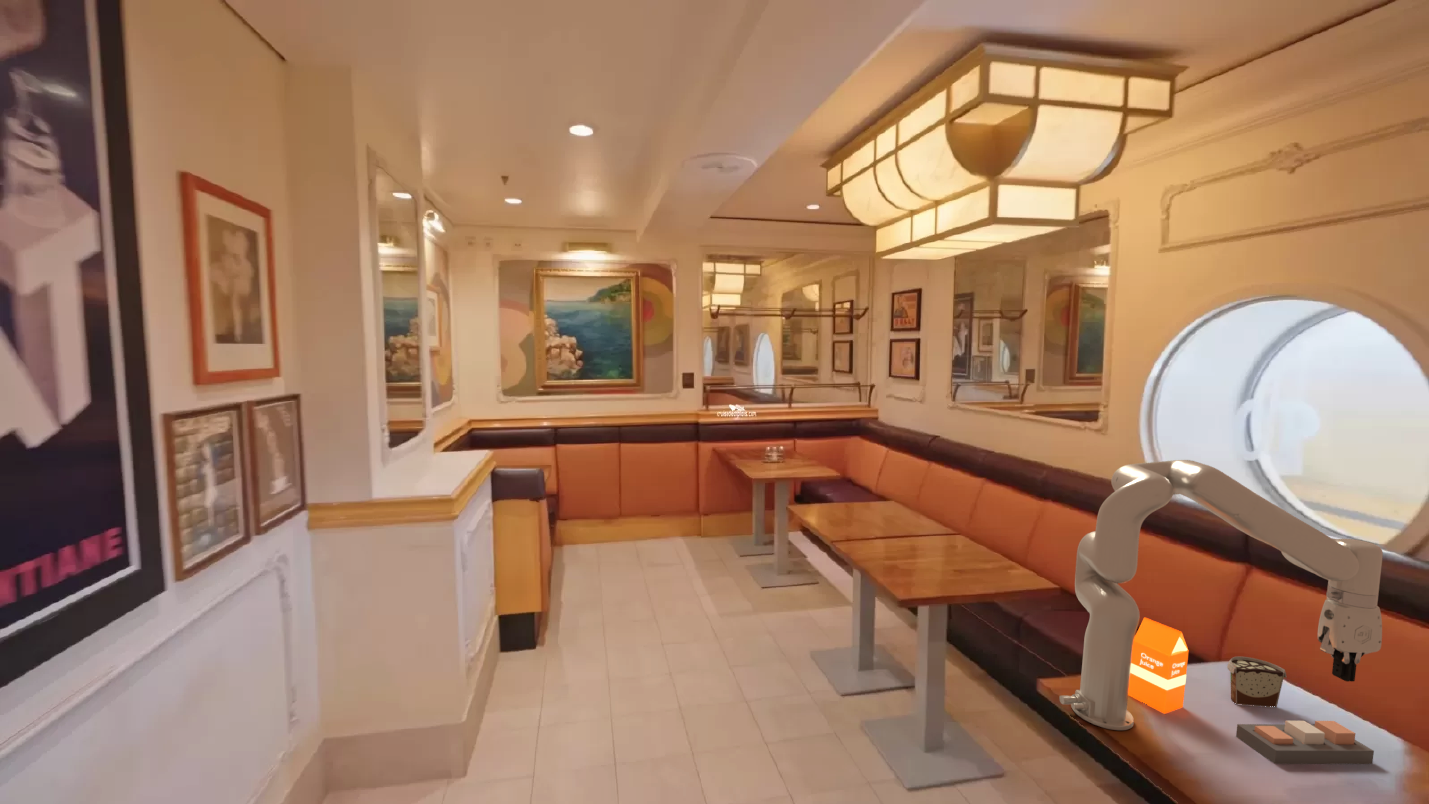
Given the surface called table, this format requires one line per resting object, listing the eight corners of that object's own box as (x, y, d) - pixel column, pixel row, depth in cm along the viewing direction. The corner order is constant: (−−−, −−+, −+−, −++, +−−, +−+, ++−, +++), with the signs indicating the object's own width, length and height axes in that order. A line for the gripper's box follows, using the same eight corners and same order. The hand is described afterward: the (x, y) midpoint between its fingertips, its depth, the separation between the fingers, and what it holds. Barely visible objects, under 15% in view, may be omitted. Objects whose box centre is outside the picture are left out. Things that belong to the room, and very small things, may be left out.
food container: (1262, 694, 155) (1267, 657, 154) (1283, 708, 149) (1287, 670, 148) (1211, 690, 156) (1215, 653, 155) (1229, 704, 150) (1233, 665, 149)
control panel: (1274, 763, 128) (1275, 750, 127) (1235, 736, 137) (1237, 724, 136) (1372, 764, 129) (1374, 750, 128) (1327, 737, 138) (1329, 724, 137)
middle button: (1303, 750, 130) (1305, 733, 130) (1283, 737, 135) (1285, 720, 134) (1322, 750, 130) (1324, 733, 130) (1302, 737, 135) (1304, 720, 134)
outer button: (1334, 750, 131) (1336, 733, 130) (1313, 737, 135) (1315, 720, 135) (1353, 750, 131) (1355, 733, 130) (1331, 737, 135) (1333, 720, 135)
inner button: (1272, 756, 130) (1274, 738, 130) (1253, 742, 134) (1255, 725, 134) (1291, 756, 130) (1293, 738, 130) (1271, 742, 135) (1273, 726, 134)
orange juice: (1164, 714, 145) (1172, 634, 143) (1126, 694, 153) (1133, 619, 151) (1183, 707, 148) (1191, 629, 146) (1145, 688, 156) (1152, 614, 154)
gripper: (1337, 604, 126) (1328, 687, 127) (1405, 604, 127) (1395, 687, 128) (1301, 590, 133) (1293, 669, 135) (1365, 590, 134) (1356, 669, 136)
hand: (1343, 678), depth 131 cm, fingers closed
